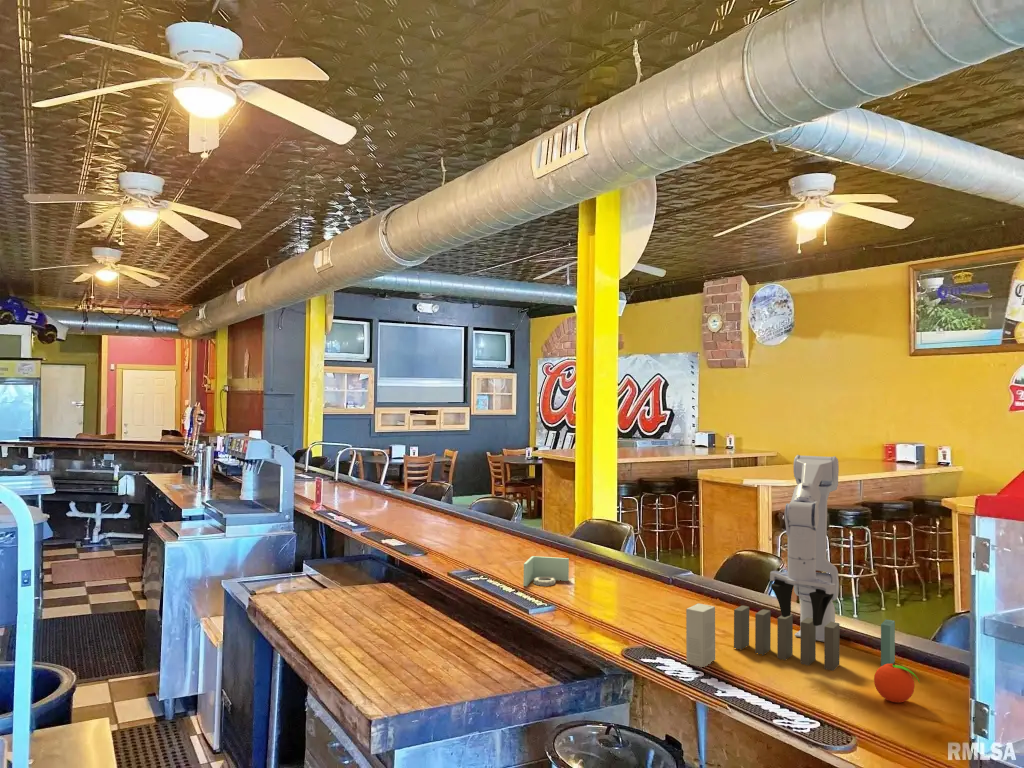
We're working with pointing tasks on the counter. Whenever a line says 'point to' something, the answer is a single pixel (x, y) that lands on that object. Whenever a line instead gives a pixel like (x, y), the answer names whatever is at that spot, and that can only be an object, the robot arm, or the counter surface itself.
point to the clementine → (894, 682)
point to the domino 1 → (741, 627)
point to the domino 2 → (762, 631)
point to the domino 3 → (785, 637)
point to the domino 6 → (887, 642)
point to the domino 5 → (831, 646)
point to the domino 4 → (808, 641)
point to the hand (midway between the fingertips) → (801, 620)
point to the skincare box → (700, 635)
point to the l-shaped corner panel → (545, 570)
